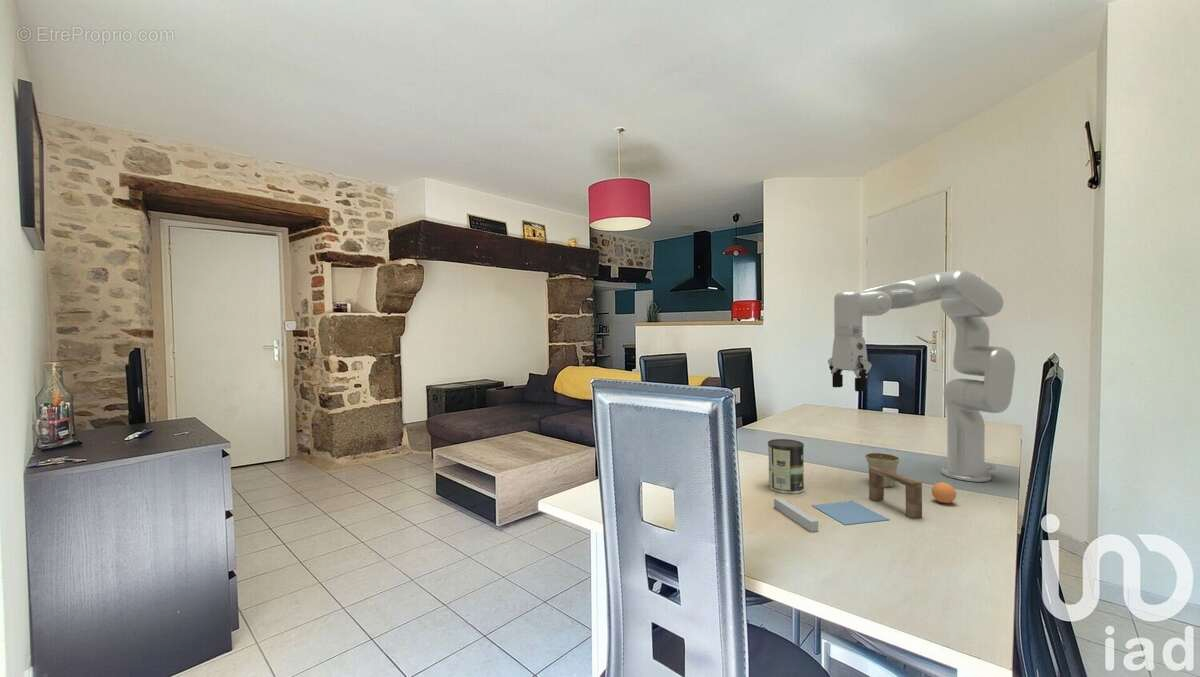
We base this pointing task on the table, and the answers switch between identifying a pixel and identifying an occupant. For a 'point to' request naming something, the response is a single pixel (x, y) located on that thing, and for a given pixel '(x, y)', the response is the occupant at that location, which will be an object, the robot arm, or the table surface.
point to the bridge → (911, 485)
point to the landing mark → (850, 512)
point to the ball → (943, 492)
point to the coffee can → (786, 466)
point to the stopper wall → (796, 514)
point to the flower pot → (883, 464)
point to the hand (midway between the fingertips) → (848, 389)
